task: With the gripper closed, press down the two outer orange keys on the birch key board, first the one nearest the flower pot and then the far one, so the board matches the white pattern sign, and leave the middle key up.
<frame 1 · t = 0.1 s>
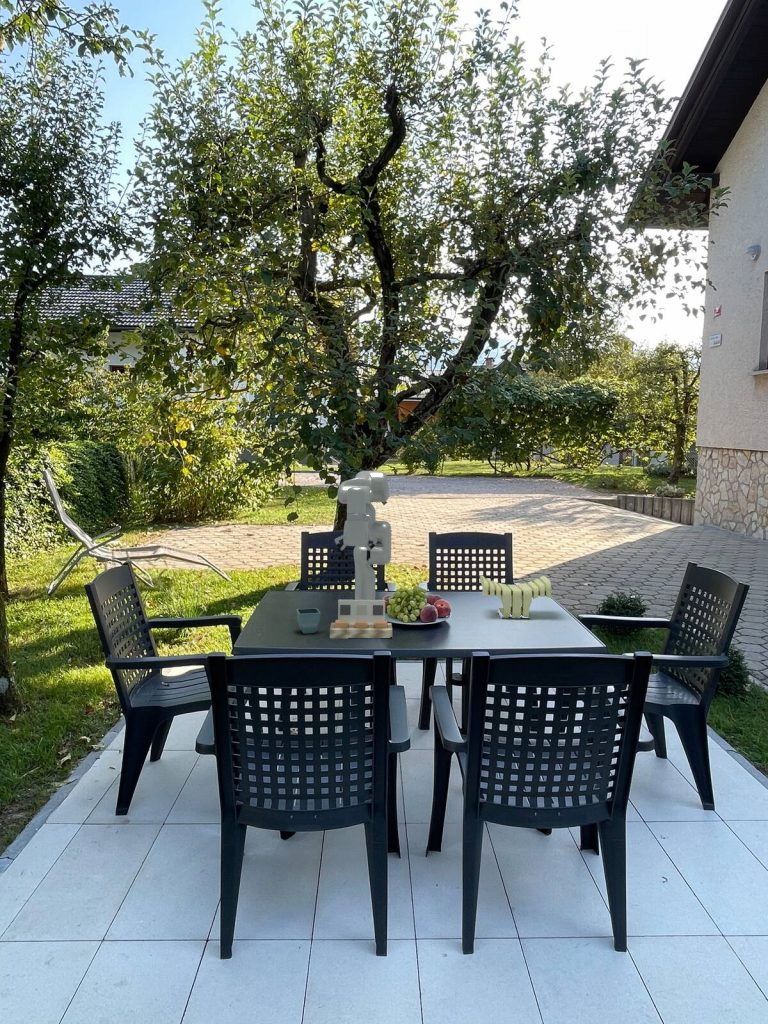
hand: (355, 559, 292), 31 cm above the table, tool pointing down, fingers open, 9 cm apart
slatted curved stool: (513, 616, 333), on the table
middle key: (361, 625, 295), point 4 cm above the table, slide at 0.0 cm
flower pot: (308, 632, 298), on the table
far key: (381, 625, 295), point 4 cm above the table, slide at 0.0 cm
near key: (341, 625, 295), point 4 cm above the table, slide at 0.0 cm
pattern sign: (361, 625, 310), on the table
key board: (361, 634, 295), on the table
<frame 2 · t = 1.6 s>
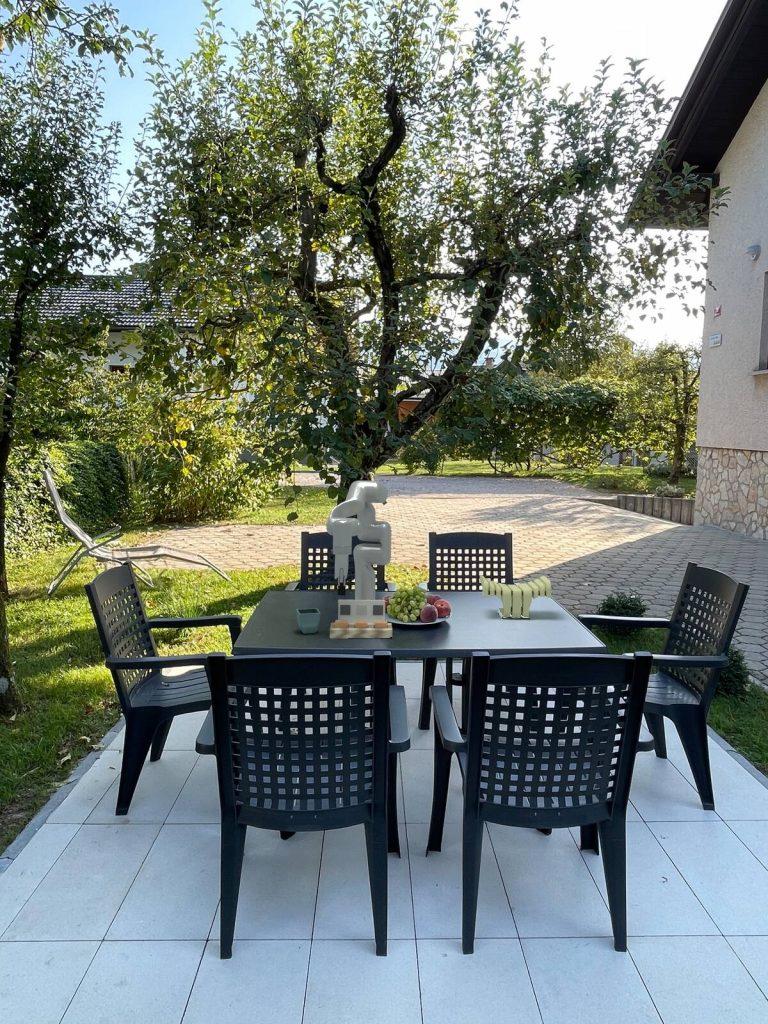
hand: (341, 595, 293), 16 cm above the table, tool pointing down, fingers closed
nothing on the table moved.
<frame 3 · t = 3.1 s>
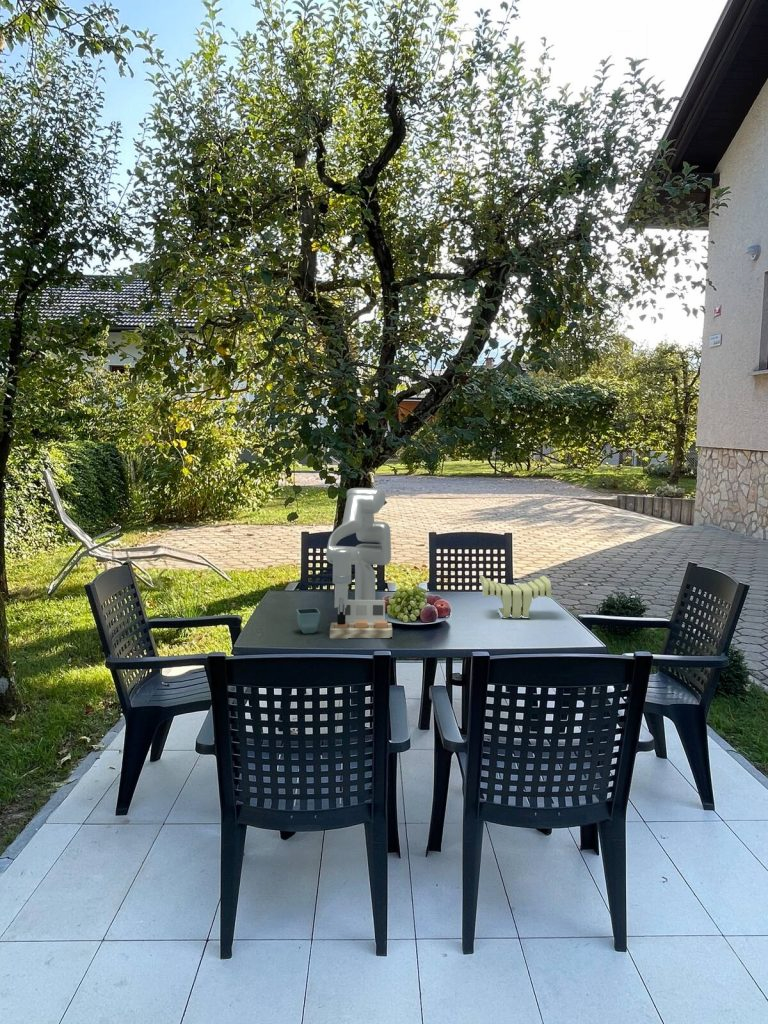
hand: (341, 623, 295), 5 cm above the table, tool pointing down, fingers closed
near key: (341, 628, 295), point 3 cm above the table, slide at 1.0 cm, touching gripper
everything else where it was.
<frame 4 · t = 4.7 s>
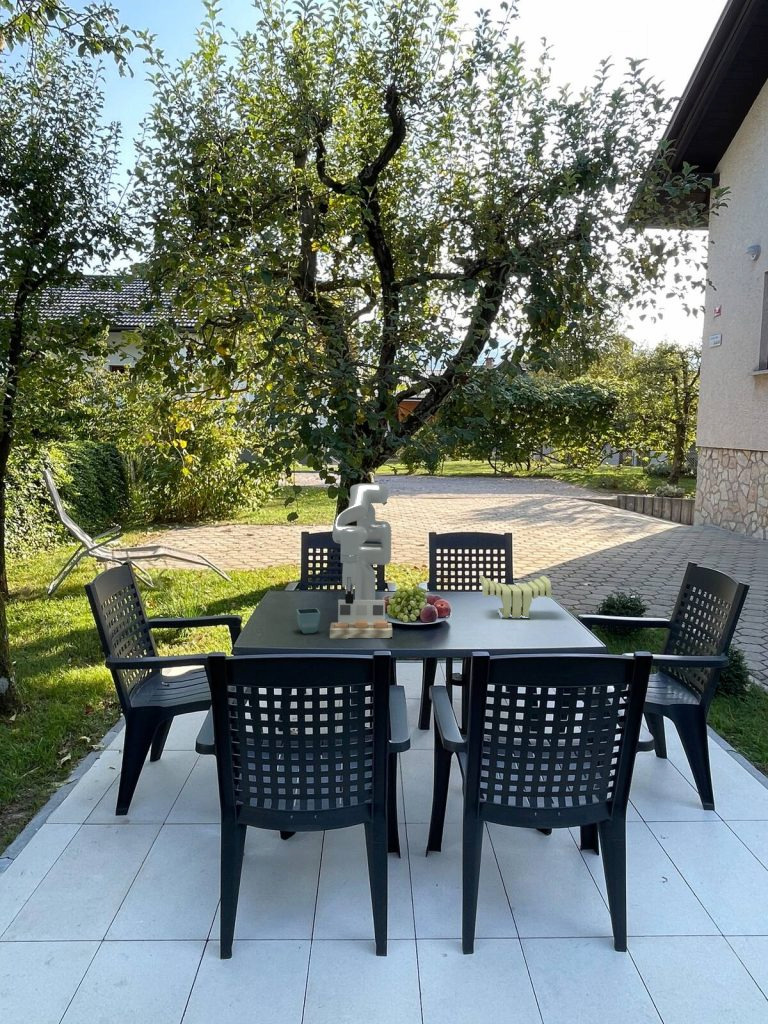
hand: (349, 603, 294), 13 cm above the table, tool pointing down, fingers closed
near key: (341, 628, 295), point 2 cm above the table, slide at 1.3 cm
everything else where it was.
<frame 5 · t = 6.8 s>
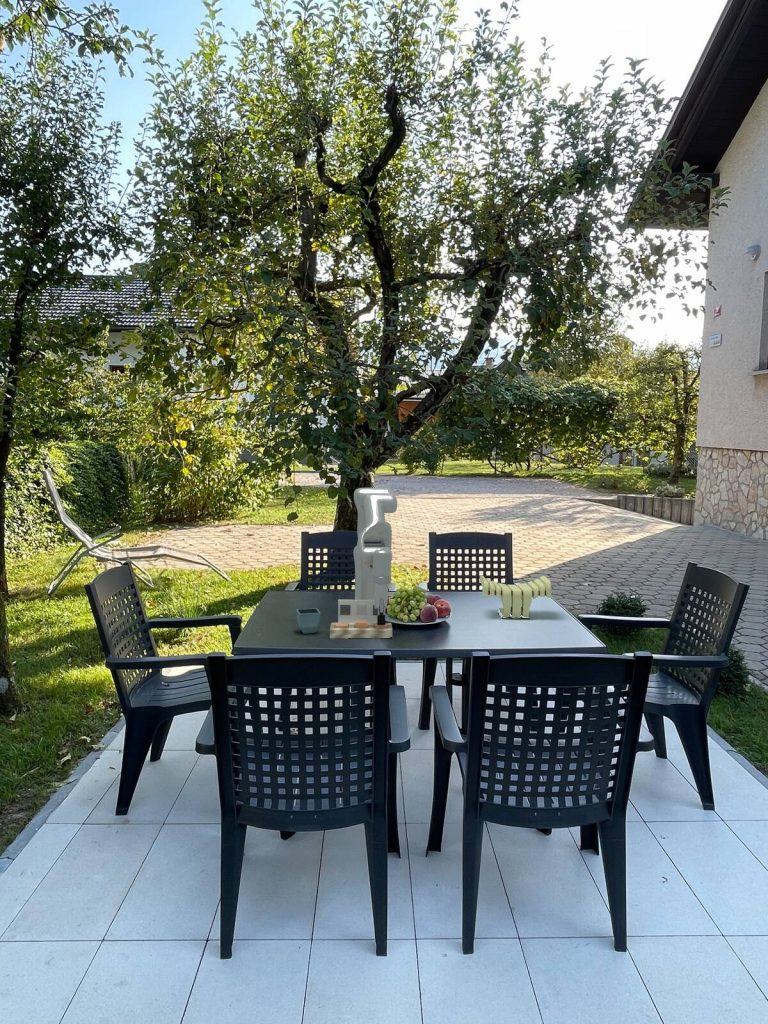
hand: (381, 624, 295), 4 cm above the table, tool pointing down, fingers closed
far key: (380, 628, 295), point 3 cm above the table, slide at 1.1 cm, touching gripper
everything else where it was.
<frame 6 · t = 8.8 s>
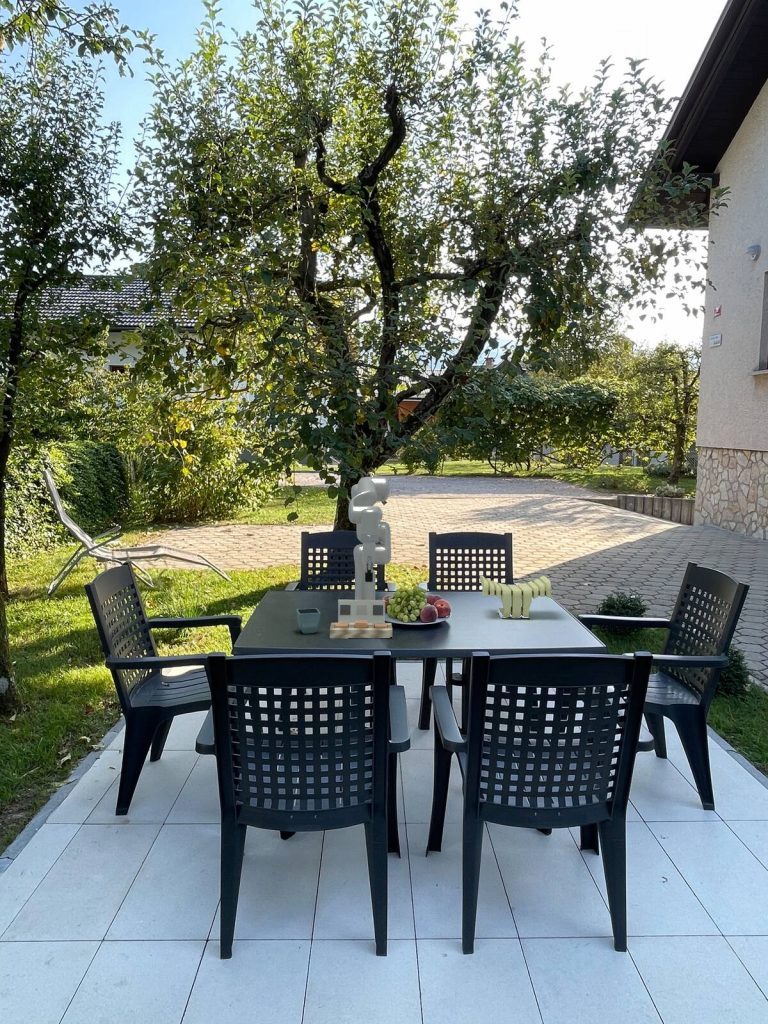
hand: (368, 581, 302), 20 cm above the table, tool pointing down, fingers closed
far key: (380, 629, 295), point 2 cm above the table, slide at 1.3 cm
everything else where it was.
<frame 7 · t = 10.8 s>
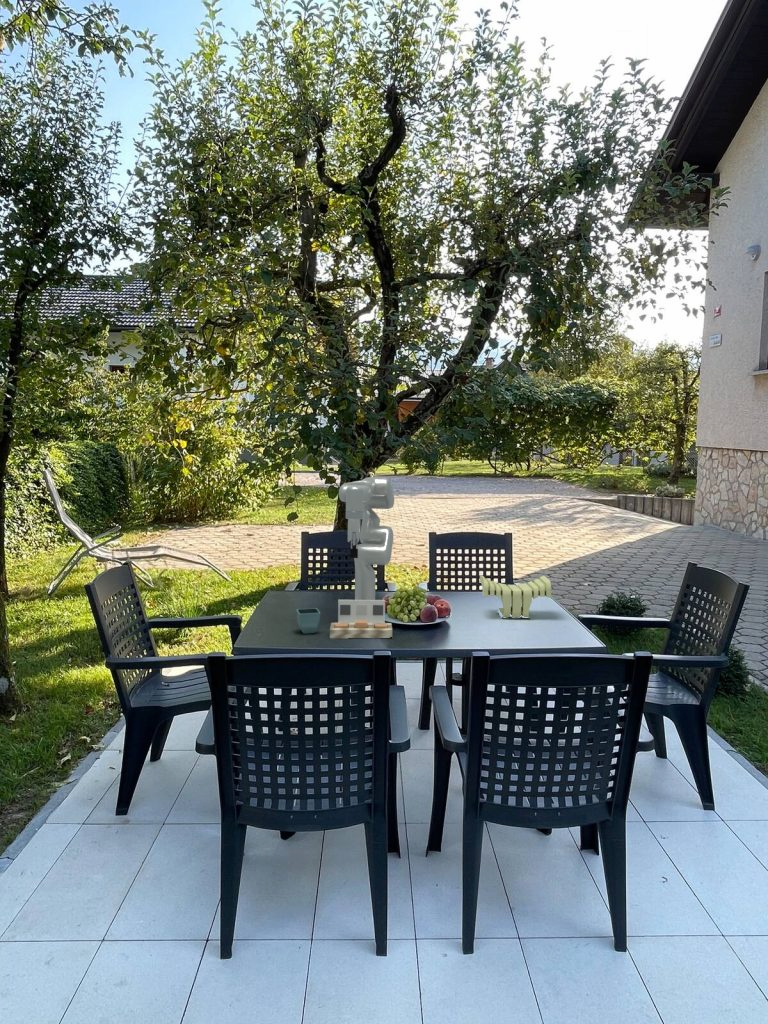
hand: (354, 557, 310), 29 cm above the table, tool pointing down, fingers closed
nothing on the table moved.
at the end: near key slide at 1.3 cm; far key slide at 1.3 cm; middle key slide at 0.0 cm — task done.
